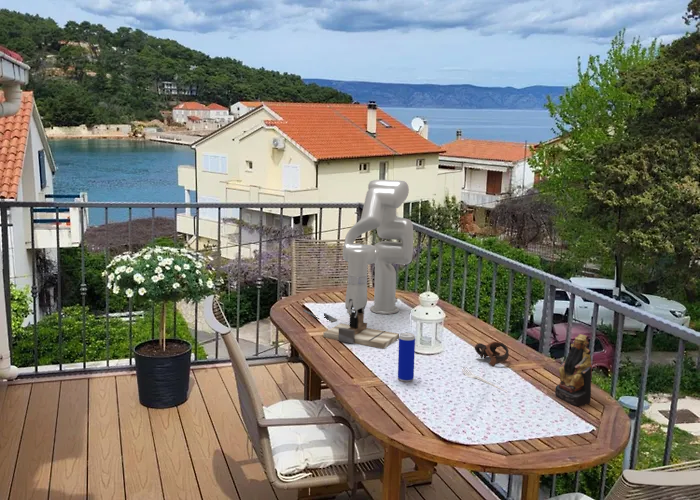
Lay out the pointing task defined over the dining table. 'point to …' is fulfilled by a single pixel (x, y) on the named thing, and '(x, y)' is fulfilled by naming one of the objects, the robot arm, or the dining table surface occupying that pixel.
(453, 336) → the dining table surface
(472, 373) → the fork
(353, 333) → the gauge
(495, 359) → the brown looped ornament
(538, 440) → the dining table surface
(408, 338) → the beverage can
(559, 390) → the statue
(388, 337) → the board
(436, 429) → the dining table surface
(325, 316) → the driftwood
